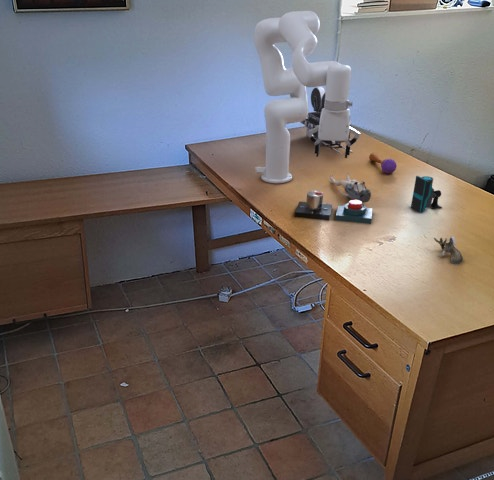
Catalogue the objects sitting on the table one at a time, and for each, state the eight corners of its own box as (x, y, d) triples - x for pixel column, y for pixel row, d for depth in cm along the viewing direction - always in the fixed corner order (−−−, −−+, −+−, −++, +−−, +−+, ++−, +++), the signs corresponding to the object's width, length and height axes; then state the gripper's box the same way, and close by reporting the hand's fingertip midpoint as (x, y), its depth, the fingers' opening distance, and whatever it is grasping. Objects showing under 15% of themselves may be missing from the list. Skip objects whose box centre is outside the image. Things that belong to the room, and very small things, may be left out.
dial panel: (294, 217, 195) (294, 211, 194) (298, 206, 203) (299, 200, 202) (329, 220, 192) (329, 214, 191) (332, 209, 200) (332, 203, 199)
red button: (347, 209, 191) (348, 203, 190) (348, 204, 195) (349, 199, 194) (361, 210, 190) (361, 205, 189) (361, 205, 193) (362, 200, 192)
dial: (304, 210, 195) (306, 194, 192) (307, 204, 200) (308, 189, 197) (321, 211, 194) (322, 196, 191) (322, 205, 198) (324, 190, 195)
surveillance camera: (450, 176, 192) (425, 180, 189) (443, 208, 198) (419, 213, 195) (439, 171, 196) (415, 175, 194) (433, 203, 203) (409, 207, 200)
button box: (335, 220, 192) (336, 209, 190) (337, 210, 199) (338, 200, 197) (370, 224, 189) (372, 213, 187) (372, 213, 196) (373, 203, 194)
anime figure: (351, 168, 223) (380, 185, 195) (350, 186, 226) (378, 206, 198) (328, 170, 222) (354, 187, 195) (327, 188, 225) (352, 207, 198)
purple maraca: (380, 150, 244) (400, 161, 226) (377, 164, 246) (396, 176, 229) (368, 149, 243) (387, 160, 225) (364, 162, 245) (383, 174, 227)
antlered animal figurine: (426, 248, 170) (443, 257, 161) (439, 228, 168) (457, 236, 160) (443, 259, 172) (461, 268, 164) (457, 239, 171) (475, 247, 162)
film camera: (295, 134, 282) (298, 86, 270) (316, 132, 285) (320, 84, 272) (333, 158, 249) (338, 103, 237) (356, 155, 252) (363, 101, 240)
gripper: (363, 103, 183) (357, 154, 192) (310, 102, 187) (307, 152, 196) (363, 108, 177) (357, 161, 185) (308, 107, 181) (305, 158, 189)
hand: (331, 156), depth 190 cm, fingers open, 9 cm apart
